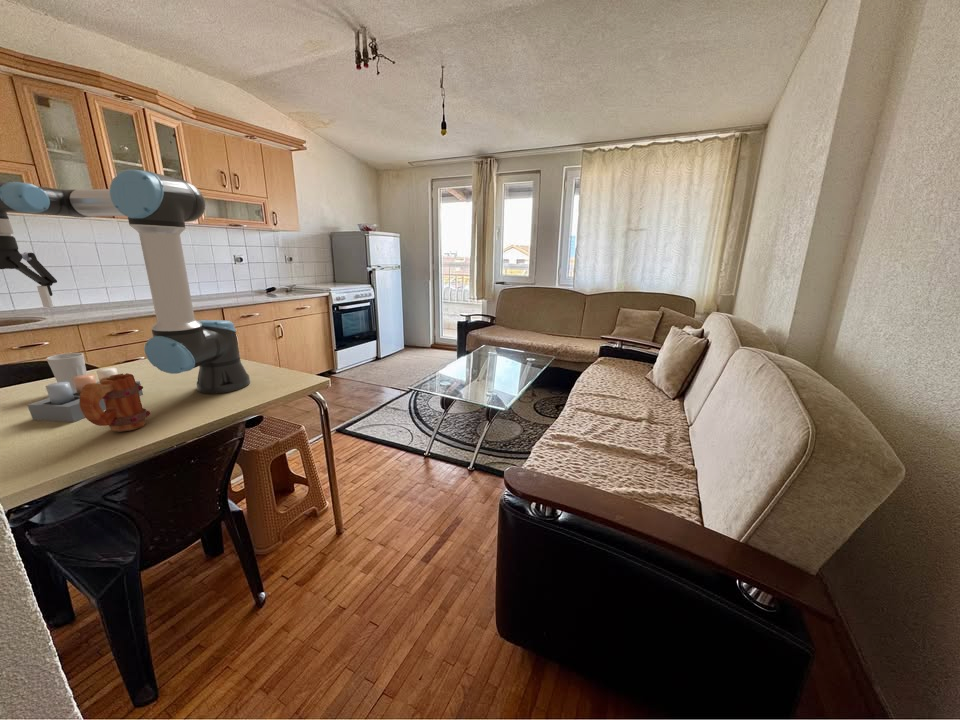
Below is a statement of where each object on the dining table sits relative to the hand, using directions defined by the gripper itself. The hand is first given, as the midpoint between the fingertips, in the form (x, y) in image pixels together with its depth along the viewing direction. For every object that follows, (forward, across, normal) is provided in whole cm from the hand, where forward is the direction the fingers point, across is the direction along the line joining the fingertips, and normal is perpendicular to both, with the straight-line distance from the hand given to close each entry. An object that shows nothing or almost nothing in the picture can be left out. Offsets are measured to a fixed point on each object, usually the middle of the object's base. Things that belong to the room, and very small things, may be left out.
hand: (19, 310), depth 109 cm
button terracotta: (+23, +4, +22) cm, 32 cm away
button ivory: (+23, -3, +21) cm, 31 cm away
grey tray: (+27, +4, +22) cm, 35 cm away
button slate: (+23, +10, +23) cm, 34 cm away
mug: (+27, +15, +47) cm, 57 cm away
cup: (+27, -5, +4) cm, 28 cm away
